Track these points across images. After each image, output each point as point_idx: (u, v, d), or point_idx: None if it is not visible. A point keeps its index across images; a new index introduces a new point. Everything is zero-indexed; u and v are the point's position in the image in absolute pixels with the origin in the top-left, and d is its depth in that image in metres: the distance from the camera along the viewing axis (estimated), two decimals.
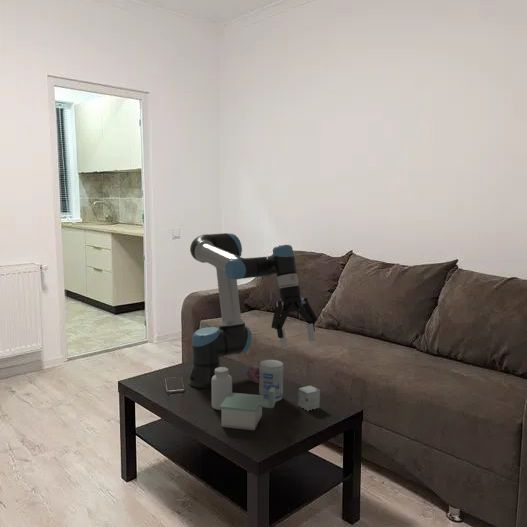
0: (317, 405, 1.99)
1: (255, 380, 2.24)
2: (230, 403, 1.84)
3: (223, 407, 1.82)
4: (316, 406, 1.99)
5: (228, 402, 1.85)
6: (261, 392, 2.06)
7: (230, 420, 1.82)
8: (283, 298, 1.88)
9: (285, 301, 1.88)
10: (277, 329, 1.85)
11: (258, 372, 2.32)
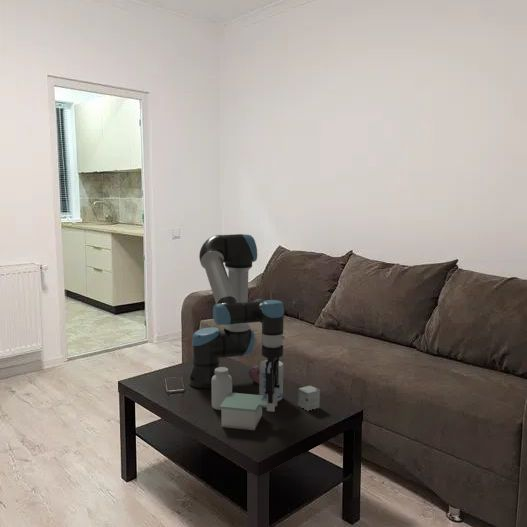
0: (317, 405, 1.99)
1: (257, 380, 2.24)
2: (230, 403, 1.84)
3: (223, 407, 1.82)
4: (316, 406, 1.99)
5: (228, 402, 1.85)
6: (261, 392, 2.06)
7: (230, 420, 1.82)
8: (271, 359, 1.78)
9: (273, 363, 1.78)
10: (269, 394, 1.80)
11: None
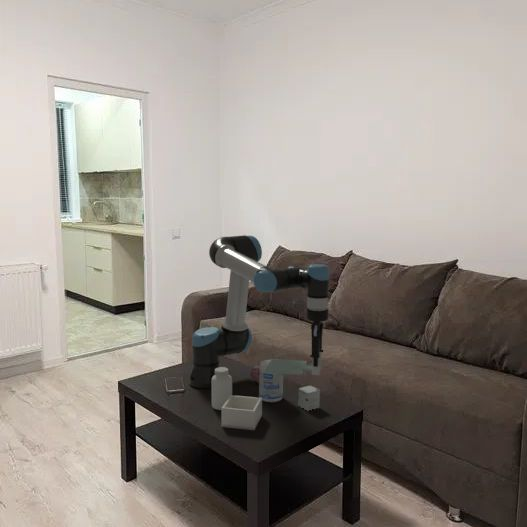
0: (317, 405, 1.99)
1: None
2: (275, 367, 1.85)
3: (268, 371, 1.83)
4: (316, 406, 1.99)
5: (273, 366, 1.86)
6: (261, 392, 2.06)
7: (230, 420, 1.82)
8: (317, 322, 1.79)
9: (318, 326, 1.79)
10: (314, 358, 1.81)
11: None
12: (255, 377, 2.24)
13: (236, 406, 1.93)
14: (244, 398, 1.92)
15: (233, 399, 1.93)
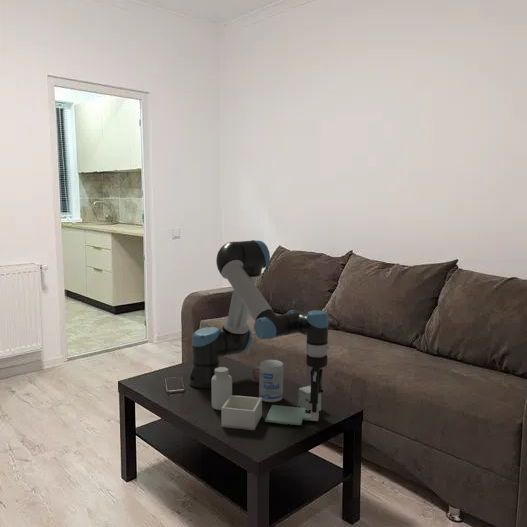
0: None
1: None
2: (275, 416, 1.88)
3: (268, 420, 1.85)
4: None
5: (272, 415, 1.89)
6: (261, 392, 2.06)
7: (230, 420, 1.82)
8: (316, 368, 1.82)
9: (318, 372, 1.82)
10: (313, 404, 1.81)
11: None
12: (257, 377, 2.24)
13: (236, 406, 1.93)
14: (244, 398, 1.92)
15: (233, 399, 1.93)
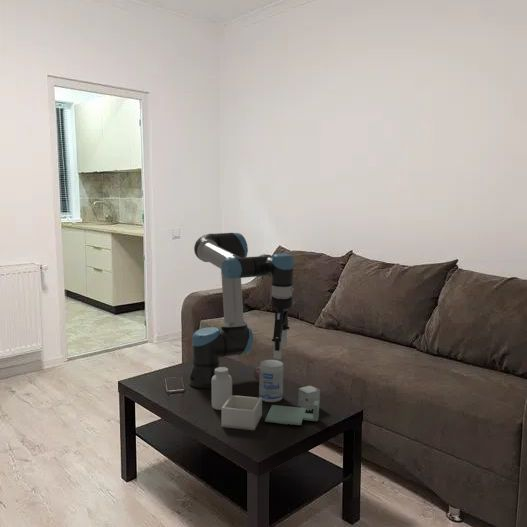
0: None
1: None
2: (275, 416, 1.88)
3: (268, 420, 1.85)
4: None
5: (272, 415, 1.89)
6: (261, 392, 2.06)
7: (230, 420, 1.82)
8: (280, 309, 1.85)
9: (282, 313, 1.86)
10: (276, 342, 1.83)
11: None
12: (258, 377, 2.24)
13: (236, 406, 1.93)
14: (244, 398, 1.92)
15: (233, 399, 1.93)
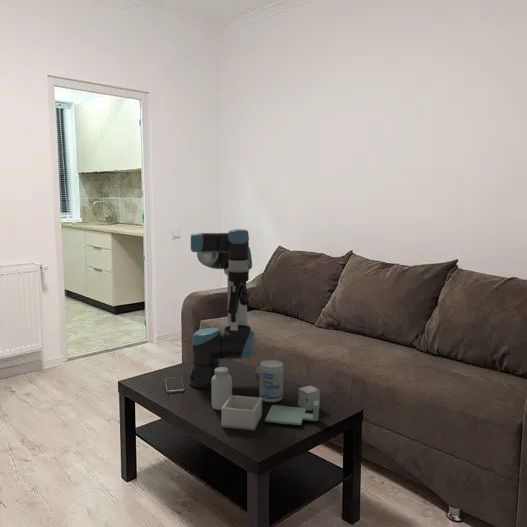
0: None
1: None
2: (275, 416, 1.88)
3: (268, 420, 1.85)
4: None
5: (272, 415, 1.89)
6: (261, 392, 2.06)
7: (230, 420, 1.82)
8: (236, 283, 1.92)
9: (238, 286, 1.92)
10: (232, 313, 1.89)
11: None
12: None
13: (236, 406, 1.93)
14: (244, 398, 1.92)
15: (233, 399, 1.93)
